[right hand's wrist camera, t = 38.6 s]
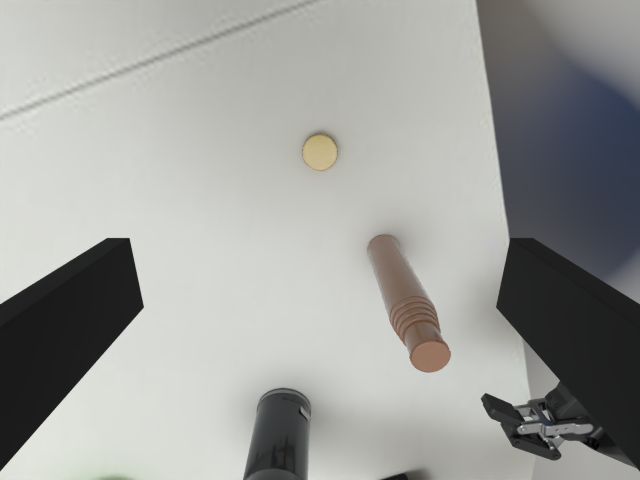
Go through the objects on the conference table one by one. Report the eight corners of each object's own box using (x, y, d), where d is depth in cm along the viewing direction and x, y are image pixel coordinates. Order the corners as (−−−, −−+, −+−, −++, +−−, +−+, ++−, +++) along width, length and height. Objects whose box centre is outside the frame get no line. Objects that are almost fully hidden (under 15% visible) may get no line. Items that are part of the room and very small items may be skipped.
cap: (343, 147, 46) (344, 149, 44) (322, 174, 47) (323, 178, 45) (316, 126, 45) (316, 127, 43) (296, 154, 46) (295, 156, 44)
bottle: (369, 266, 52) (405, 382, 30) (365, 237, 50) (400, 339, 28) (400, 260, 52) (459, 375, 30) (397, 232, 50) (457, 330, 28)
